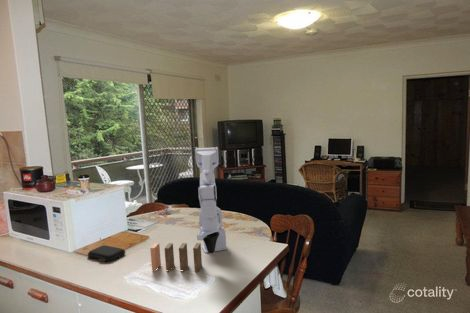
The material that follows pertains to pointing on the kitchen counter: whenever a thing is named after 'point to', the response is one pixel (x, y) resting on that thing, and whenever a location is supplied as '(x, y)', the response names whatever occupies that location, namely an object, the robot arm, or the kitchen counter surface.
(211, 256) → the kitchen counter surface
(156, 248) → the end domino
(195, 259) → the domino
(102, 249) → the carrying case or bag
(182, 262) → the domino
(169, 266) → the domino
